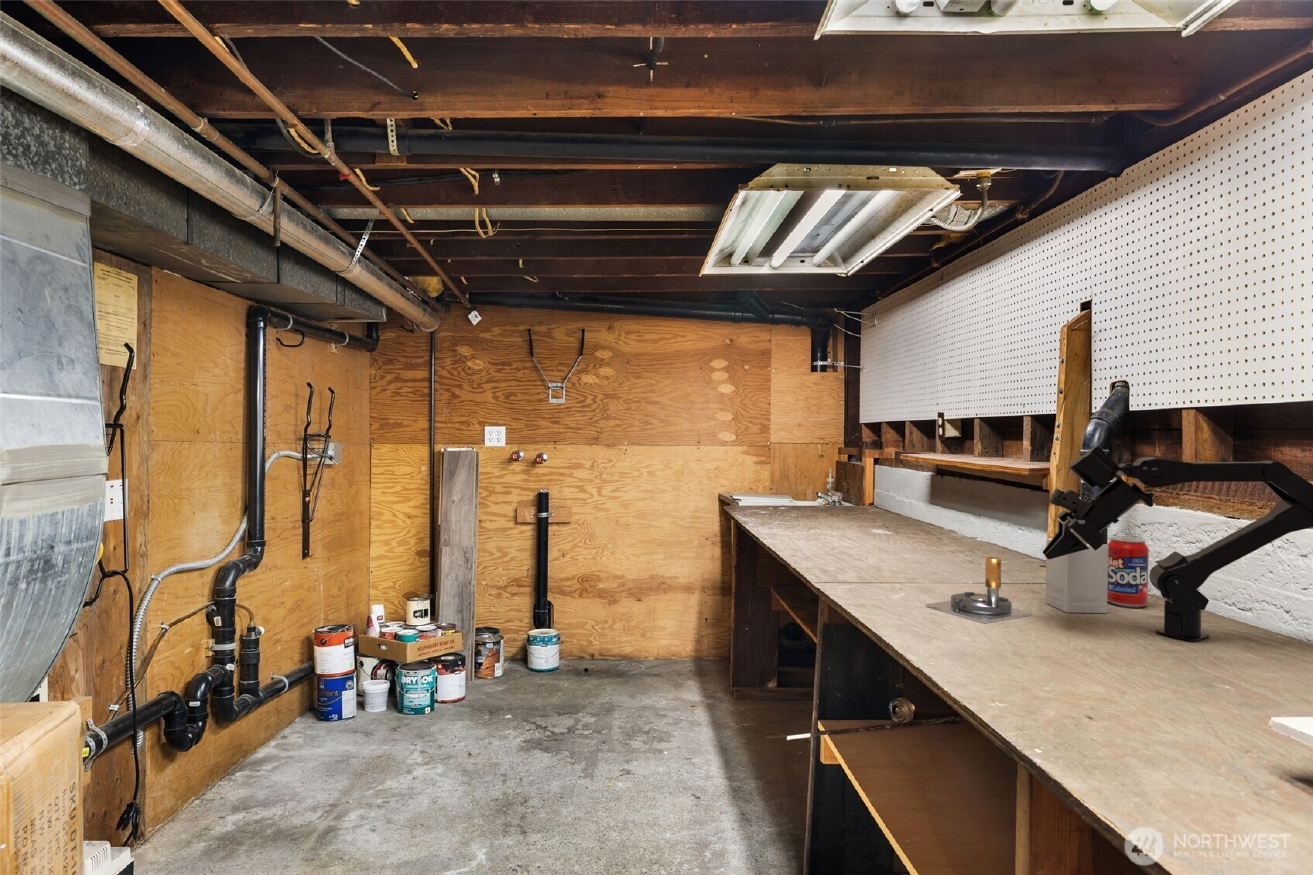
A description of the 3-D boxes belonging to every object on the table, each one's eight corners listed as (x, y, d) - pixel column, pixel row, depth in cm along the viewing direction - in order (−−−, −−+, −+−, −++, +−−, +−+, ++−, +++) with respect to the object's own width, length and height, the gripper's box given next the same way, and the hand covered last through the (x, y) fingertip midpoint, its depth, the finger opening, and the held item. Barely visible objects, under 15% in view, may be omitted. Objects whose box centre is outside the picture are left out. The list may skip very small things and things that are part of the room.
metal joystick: (993, 600, 159) (994, 549, 158) (1024, 615, 146) (1025, 559, 146) (941, 600, 158) (942, 549, 158) (968, 614, 146) (969, 559, 145)
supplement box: (1108, 614, 150) (1110, 544, 150) (1066, 613, 151) (1068, 544, 150) (1083, 603, 160) (1084, 538, 159) (1044, 602, 160) (1045, 537, 159)
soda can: (1141, 602, 161) (1143, 537, 161) (1152, 610, 154) (1153, 542, 154) (1102, 599, 164) (1103, 535, 164) (1110, 606, 157) (1112, 540, 156)
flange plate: (971, 599, 162) (971, 586, 162) (1031, 615, 149) (1032, 600, 149) (925, 606, 155) (925, 592, 155) (984, 623, 142) (984, 608, 142)
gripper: (1069, 472, 150) (1011, 521, 154) (1084, 478, 133) (1018, 532, 137) (1111, 511, 147) (1051, 559, 151) (1133, 522, 130) (1064, 576, 134)
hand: (1045, 555), depth 144 cm, fingers open, 4 cm apart
